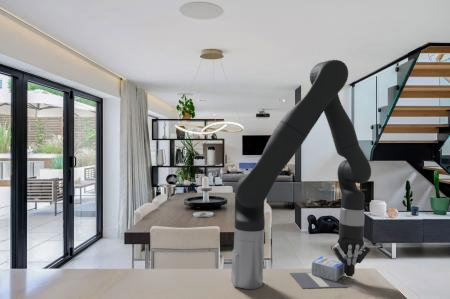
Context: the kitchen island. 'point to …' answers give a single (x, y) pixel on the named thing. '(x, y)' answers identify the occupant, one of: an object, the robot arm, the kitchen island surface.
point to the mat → (316, 281)
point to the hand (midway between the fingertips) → (349, 275)
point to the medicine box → (328, 268)
